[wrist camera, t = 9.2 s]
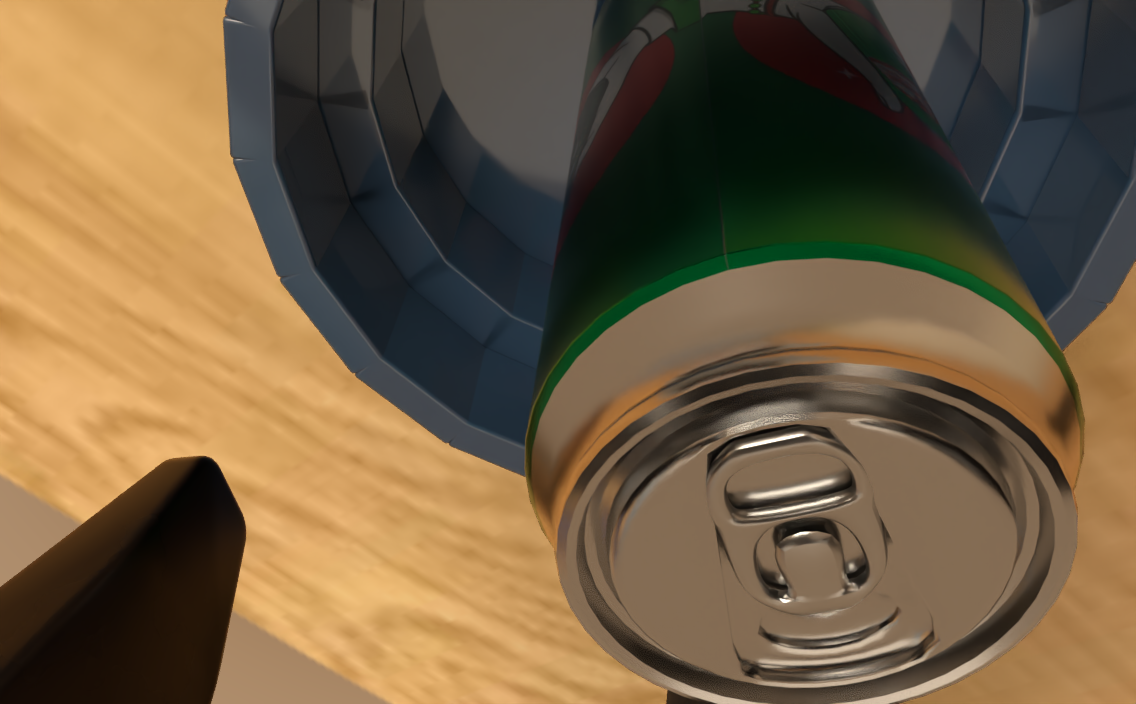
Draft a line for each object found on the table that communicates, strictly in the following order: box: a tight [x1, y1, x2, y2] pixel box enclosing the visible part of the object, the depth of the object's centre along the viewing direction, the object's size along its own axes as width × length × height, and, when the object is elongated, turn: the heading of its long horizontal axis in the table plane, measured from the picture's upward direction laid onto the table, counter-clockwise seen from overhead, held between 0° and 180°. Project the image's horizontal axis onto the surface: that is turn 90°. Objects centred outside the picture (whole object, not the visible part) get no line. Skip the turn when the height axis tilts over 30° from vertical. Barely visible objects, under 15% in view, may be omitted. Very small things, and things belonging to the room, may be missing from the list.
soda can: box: [525, 0, 1085, 704], centre depth 13 cm, size 5×5×12 cm
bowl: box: [223, 0, 1136, 477], centre depth 17 cm, size 13×13×5 cm
